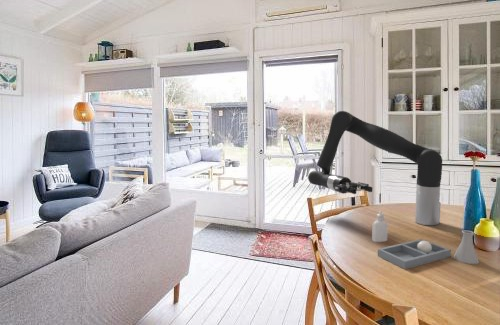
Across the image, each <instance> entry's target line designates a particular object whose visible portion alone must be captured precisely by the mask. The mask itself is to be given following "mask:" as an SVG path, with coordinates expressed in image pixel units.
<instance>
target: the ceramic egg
mask: <svg viewBox="0 0 500 325" xmlns="http://www.w3.org/2000/svg"><path fill="white" fill-rule="evenodd" d="M427 241H428V240H426V241H420V242H419V243H418V245H417V248H418V250H419V251H421V252H423V253H426V254H428V253H430V252H431V250H432V246H431V244H430V243H429V242H430V241H429V242H427Z"/></svg>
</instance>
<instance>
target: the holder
mask: <svg viewBox="0 0 500 325" xmlns="http://www.w3.org/2000/svg"><path fill="white" fill-rule="evenodd" d="M420 241H427V242H429V243H430V244H431V246H432V250H431V252H430V253H428V254H426V253H423V252H421V251H419V250H418V248H417V245H418V243H419V242H420ZM451 256H452V249H449V248H448V247H445V246H442V245H439V244H436V243H434V242H431V241H428V240H425V239H422V238H419V239H416V240H412V241H411V240H410V241H406V242H402V243H398V244H394V245H388V246H385V247H380V248H377V257H378V258H381V259H383V260H385V261H387V262H390V263H391V264H393V265H396V266H397V267H399V268H400V269H401V268H402V269H403V270H407V269H410V268H414V267H419V266H421V265H425V264H429V263H432V262H436V261H441V260H444V259H448V258H451Z"/></svg>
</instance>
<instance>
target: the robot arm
mask: <svg viewBox="0 0 500 325" xmlns="http://www.w3.org/2000/svg"><path fill="white" fill-rule="evenodd" d="M345 132H349V133H351V134H354V135H356V136H358V137H360V138H361V139H363V140H364V141H366V142H367V143H369V144H370V145H372V146H373V147H376V148H378V149H380V150H382V151H385V152H388V153H390V154H395V155H397V156H401V157H403V158H406V159H408V160H409V161H412V162H413V163H415V164H417V174H416V186H415V188H416V190H415V214H414V216H415V217H414V221H415V223H417V224H420V225H423V226H438V225H439V224H440V221H441V201H440V198H441V182H442V175H443V174H442V172H443V157H442V155H441V154H440V153H439V152H438V151H436V150H434V149H432V148H428V147H425V146H422V145H419V144H416V143H413V142H412V141H410V140H408V139H406V138H405V137H403V136H401V135H400V134H398V133H395V132H393V131H391V130H389V129H387V128H385V127H381V126H379V125H376V124H373V123H369V122H366V121H364V120H362V119H360V118H358V117H356V116H355V115H353V114H351V113H350V112H348V111H346V110H345V111H344V110H338V111H336V112H335V113H334V114H333V115H332V117H331V122H330V127H329V131H328V134H327V138H326V141H325V142H324V145H323V148H322V150H321V153H320V154H319V155H320V156H319V157H318V160H317V166H318V167H319V168H321V171H318V170H312V171H310V172H309V173H308V175H307V179H308V181H309V183H310V184H311V185H314V186H319V187H320V186H321V187H324V188H326V189H329V190H332V191H334V192H336V193H339V194H342V195H343V194H345V195H346V194H353V195H356V194H357V192H361V191H363V192H368V193H372V192H373V187H372V186H369V185H370V184H368V183H364V182H359V181H358V182H355V181H352V180H351V179H350V178H349V177H346V176H341V175H336V174H332V173H331V168H332V165H333V163H334V161H335V158H336V154H337V151H338V148H339V144H340V141H341V139H342V136H343V135H344V134H345Z"/></svg>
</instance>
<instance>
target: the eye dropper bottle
mask: <svg viewBox="0 0 500 325" xmlns="http://www.w3.org/2000/svg"><path fill="white" fill-rule="evenodd" d="M384 216H385V215H384V214H383V213H382V210H379V212H378V213H377V214H376V220H374V221H373V222H372V225H371V226H372V227H371V228H372V229H371V230H372V232H371V241H373V242H374V243H382V242H386V241H388V232H389V231H388V224H389V223H388V221H385V220H384V219H385V218H384Z"/></svg>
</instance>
